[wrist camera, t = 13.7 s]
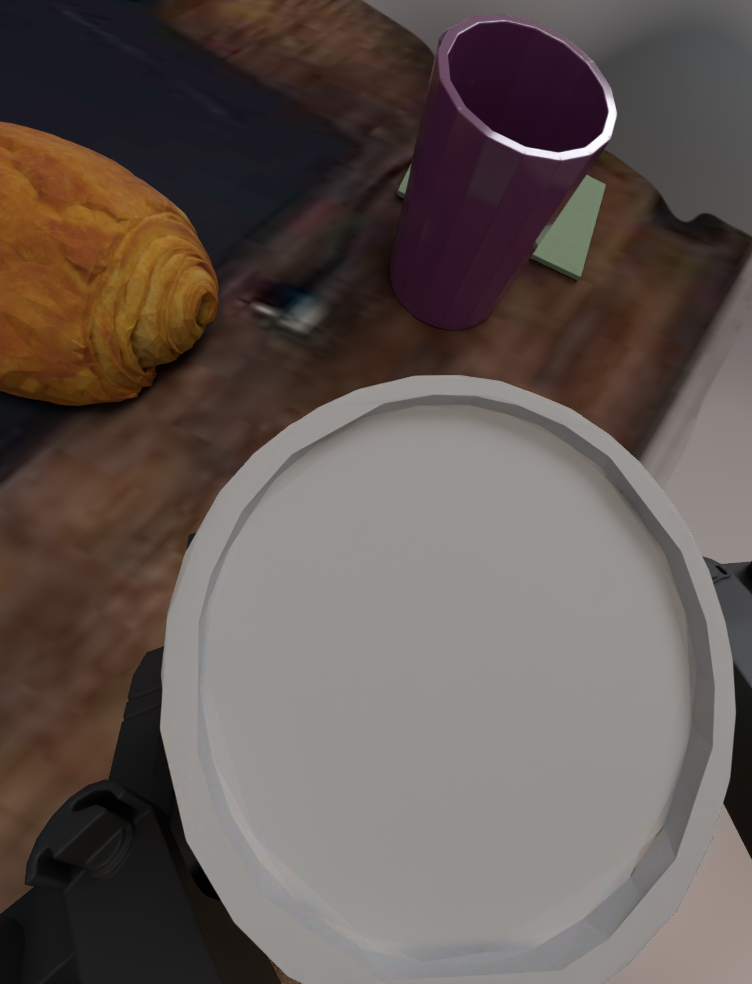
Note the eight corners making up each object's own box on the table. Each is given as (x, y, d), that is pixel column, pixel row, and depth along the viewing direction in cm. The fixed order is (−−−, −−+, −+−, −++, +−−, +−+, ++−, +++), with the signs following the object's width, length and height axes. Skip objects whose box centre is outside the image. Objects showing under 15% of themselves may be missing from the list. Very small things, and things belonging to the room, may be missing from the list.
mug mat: (396, 195, 27) (397, 190, 27) (439, 108, 30) (441, 102, 30) (577, 281, 28) (580, 276, 28) (602, 189, 31) (606, 184, 31)
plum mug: (517, 313, 27) (648, 143, 16) (419, 343, 25) (494, 174, 14) (452, 194, 28) (532, -33, 17) (355, 214, 26) (378, -28, 16)
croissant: (72, 209, 25) (-56, 36, 17) (263, 285, 24) (215, 135, 16) (-88, 361, 21) (-348, 222, 13) (132, 464, 19) (-17, 377, 12)
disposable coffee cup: (221, 619, 15) (-85, 775, 4) (348, 457, 18) (398, 252, 6) (394, 746, 15) (622, 1296, 4) (497, 566, 18) (824, 562, 6)
